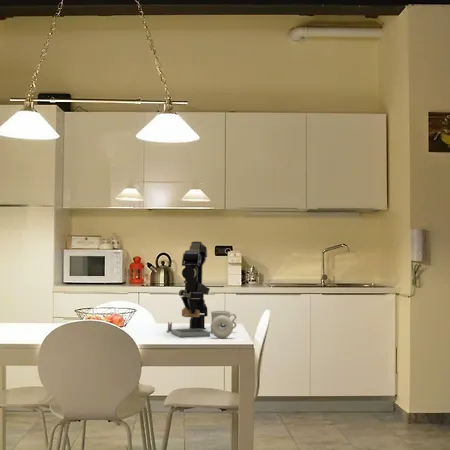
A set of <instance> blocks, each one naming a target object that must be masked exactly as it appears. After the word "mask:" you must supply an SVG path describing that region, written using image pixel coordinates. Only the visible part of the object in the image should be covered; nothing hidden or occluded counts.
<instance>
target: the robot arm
mask: <svg viewBox="0 0 450 450" xmlns="http://www.w3.org/2000/svg"><path fill="white" fill-rule="evenodd" d="M207 248H208V247H207V246H205V244H203V242H202V241H199V240H197V241H191V243H190V246H189V249H187V250H186V249H185V250H184V252H183V253H182V259H181V267H184V268H183V269H182V270H181V276H182V277H183V279H184V280H183V283H184V289H180V290H179V291H178V296H179V297H180V299H181V301H182V303H183V305H184V308H187V309H190V310H191V313H192V314H194V313H195V309H197V310H200V317H190V318H189V328H188V329H203V330H206V329H207V328H206V327H205V325H206V324H205V318H206V317H209V315H208V314H209V313H208V306H207V304H206V300H205V297H204V296H205V295H207V296H208V295H209V293H210V290H211V288H210V287H207V286H205V284H203V267H204V265H205V263H206V261H207V258H208V249H207Z"/></svg>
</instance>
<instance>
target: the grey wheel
mask: <svg viewBox="0 0 450 450" xmlns="http://www.w3.org/2000/svg"><path fill="white" fill-rule="evenodd" d="M220 323H224V324H225V326H226V328H225V330H223V331H221V330H219V328H218V325H219V324H220ZM233 326H234V324H233V323H232V319H230V317H229V318H228V317H226V316H223V315H221V316H217V317H215V318H214V319H213V321H212V320H211V322H210V332H211V331H212V332H211V333H212V334H213V335H214V336H215V337H217V338H219V339H226V338H228V337H229V336H231V334H232V333H233V330H234V329H233Z"/></svg>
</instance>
